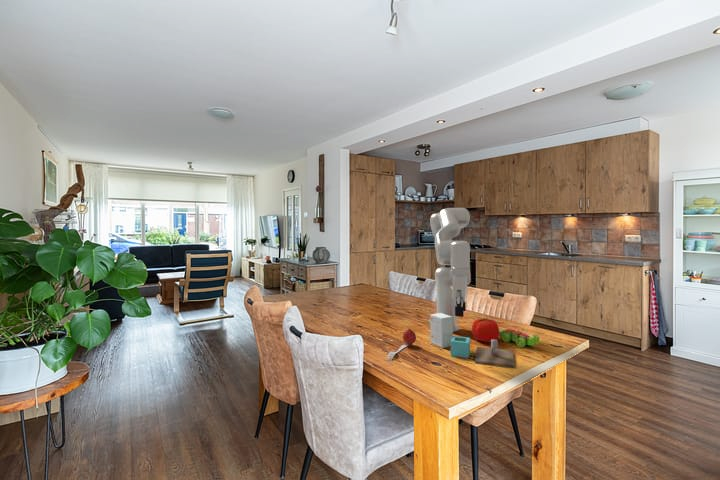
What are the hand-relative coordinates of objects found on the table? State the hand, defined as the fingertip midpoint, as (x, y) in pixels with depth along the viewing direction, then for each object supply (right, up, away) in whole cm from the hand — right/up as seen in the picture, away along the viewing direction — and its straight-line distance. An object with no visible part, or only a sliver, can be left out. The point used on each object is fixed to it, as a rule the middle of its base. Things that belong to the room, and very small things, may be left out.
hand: (460, 313), depth 141 cm
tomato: (+16, -16, +16) cm, 28 cm away
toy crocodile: (+29, -16, +13) cm, 36 cm away
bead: (0, -17, +1) cm, 17 cm away
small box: (-5, -17, +13) cm, 22 cm away
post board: (+12, -17, -4) cm, 21 cm away
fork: (-25, -18, +4) cm, 31 cm away
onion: (-19, -17, +12) cm, 28 cm away
